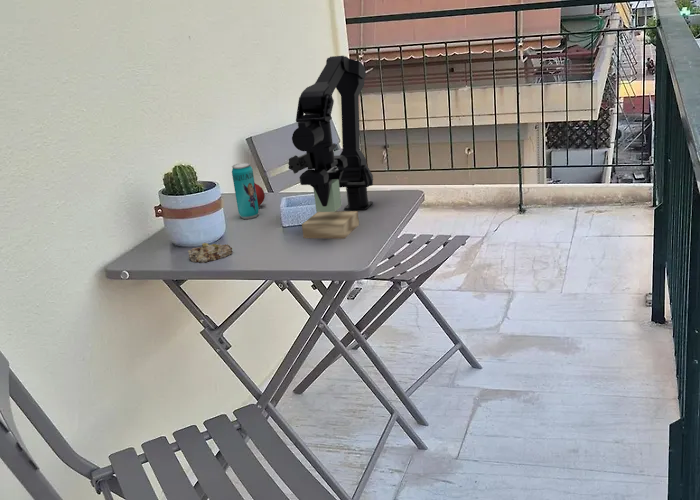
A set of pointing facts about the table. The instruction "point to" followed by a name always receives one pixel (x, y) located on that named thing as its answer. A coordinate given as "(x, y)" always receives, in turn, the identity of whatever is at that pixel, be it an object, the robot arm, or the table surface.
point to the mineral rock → (209, 252)
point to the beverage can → (245, 190)
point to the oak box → (330, 224)
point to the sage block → (330, 199)
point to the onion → (259, 194)
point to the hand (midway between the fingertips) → (328, 203)
